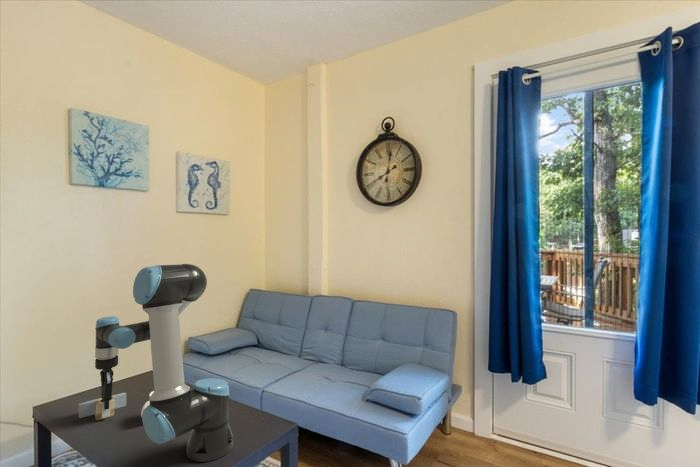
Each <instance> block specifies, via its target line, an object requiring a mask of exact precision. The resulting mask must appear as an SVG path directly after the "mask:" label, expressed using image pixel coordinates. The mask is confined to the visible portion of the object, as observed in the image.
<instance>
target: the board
mask: <svg viewBox="0 0 700 467" xmlns="http://www.w3.org/2000/svg"><path fill="white" fill-rule="evenodd" d="M112 396H113V398H114V400H115V406H114V410H116V409H119V408H123V407H127V393H126V392H121V393H118V394H112ZM96 399H97V398H95V399H91V400H87V401H85V402H79V403H78V419H82V418H86V417H91V416H93V415H94V416H95V400H96Z"/></svg>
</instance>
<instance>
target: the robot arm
mask: <svg viewBox="0 0 700 467" xmlns="http://www.w3.org/2000/svg"><path fill="white" fill-rule="evenodd" d="M207 285H208V280H207V276H206V274H205V273H204V271H203V269H202V268H200V267H199V266H197V265H194V264H191V263H181V264H180V263H179V264H163V265H162V264H161V265H152V266H146V267H143V268H142V269H140V270H139V271H138V272H137V275H136V276H135V278H134V281H133V285H132V295H133V298H134V301H135V303H136V304H138V305H142V311H144V312H145V313H146V314H148V320H146V321H141V322H136V323H131V324H126V325H120V319H119V317H118V316H106V317H104V316H103V317H100V318H98V319H96V323H95V348H94V349H95V350H94V354H95V355H94V358H95V360H94V362H95V363H94V364H95V366H94V367H95V369H96V370H101V371H100V372H99V375H100V383H101V384H100V386H101V387H100V390H101V394H100V396H101V398H102V399H103V400H101V402H102V418H103V419H105V418H104V417H107V418H109V417H108V416H110V409H111V399H112V395H113V382H114V378H113V377H114V370H113V368H115V367H117V366H118V365H119V349H120V350H124V349H127V348H129V347H131V346H133V345H134V344H137V343H141V342H145V341H150V353H151V364H152V377H153V391H154V393H153V394H152V395H151V396H150V398H149V397H148V401H150V406H149V405H148V406H147V407H146V408H145V409H144V410H143V414H142V417H141V420H142V426H143V428H144V431H145V432H146V435H147V436H148V438H149V439H150V440H151V442H153V443H155V444H157V445H158V444H159V445H160V444H161V445H162V444H164V443H167V442H169V441H173V440H175V439H176V438H178V437H180V436H182V435H184V434H187V433H189V432H190V431H191V433H190V435H189V438H188V441H187V444H186V456H187V458H188V459H190V460H191V461H194V462H199V463H200V462H201V463H202V462H203V463H205V462H211V461H215V460H218V459H220V458H222V457H224V456H226V455H227V454H228V453H230V452H231V450H232V449H233V447H234V435H233V432H232V429H231V425H230V422H229V421H230V420H229V413H230V412H229V411H230V409H229V408H230V404H229V403H230V395H231V392H230V388H229V386H230V385H229V383H228V382H227V381H226V380H224V379H223V378H222V379H221V378H215V377H214V378H211V377H210V378H202V379H199V380H196V381H195V382H193V385H192V389H191V387H190V386H189V385H187V384H186V383H185V375H184V360H183V350H182V338H181V325H180V315H181V313H183V312H184V310H185V309H187V307H188V306H190V304H191V303H193V302H196V301H198V300H199V299H200V298H201V297H202V296H203V294H204V293H205V291H206V288H207ZM110 417H111V416H110Z"/></svg>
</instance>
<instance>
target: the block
mask: <svg viewBox="0 0 700 467" xmlns="http://www.w3.org/2000/svg"><path fill="white" fill-rule="evenodd" d="M95 399H96V400H95ZM95 399H94V400H95V414H94V417H95V421H99V420H102V419H106V418H109V417H114V416H115V409H114V406H115V400H114V398H113V396H112V399H111V409H110V416H108V417H104V418H102V402H101V400H103V399H102V397H99V398H95Z"/></svg>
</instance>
